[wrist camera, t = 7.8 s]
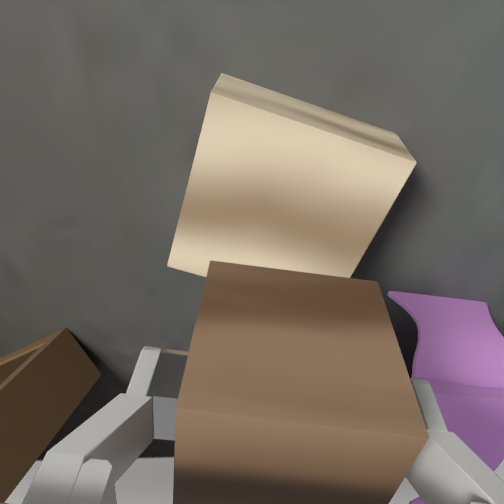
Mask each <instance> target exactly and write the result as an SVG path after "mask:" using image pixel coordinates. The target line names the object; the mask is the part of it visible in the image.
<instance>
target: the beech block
mask: <svg viewBox="0 0 504 504" xmlns="http://www.w3.org/2000/svg"><path fill="white" fill-rule="evenodd" d="M416 163H417V162H416V161H415V159H414V158H413V156H412V155H411V154H410V152H409V151H408V150H407V148H406V147H405V145H404V144H403V143H402V141H401V140H400V138H399V137H398V136H397V134H395V133H392V132H389V131H386V130H384V129H381V128H378V127H375V126H372V125H369V124H366V123H364V122H361V121H358V120H355V119H352V118H349V117H346V116H343V115H341V114H338V113H335V112H332V111H329V110H326V109H323V108H321V107H318V106H315V105H312V104H309V103H306V102H303V101H300V100H298V99H295V98H292V97H289V96H286V95H283V94H280V93H278V92H275V91H272V90H269V89H266V88H263V87H260V86H257V85H255V84H252V83H249V82H246V81H243V80H240V79H237V78H235V77H232V76H229V75H226V74H223V73H221V75H220V77H219V79H218V81H217V82H216V84H215V86H214V88H213V90H212V91H211V94H210V98H209V102H208V106H207V110H206V114H205V118H204V122H203V126H202V130H201V134H200V138H199V142H198V146H197V150H196V154H195V158H194V162H193V166H192V170H191V174H190V178H189V181H188V185H187V189H186V193H185V197H184V201H183V205H182V209H181V213H180V217H179V221H178V225H177V229H176V233H175V237H174V241H173V245H172V249H171V253H170V257H169V261H168V265H167V266H169V267H172V268H176V269H179V270H183V271H186V272H190V273H193V274H197V275H200V276H204V277H206V276H207V272H208V267H209V263H210V260H211V261H219V262H227V263H235V264H243V265H251V266H259V267H267V268H275V269H283V270H290V271H298V272H306V273H314V274H322V275H330V276H338V277H346V278H350V277H351V275H352V273H353V272H354V270H355V268H356V267H357V265H358V263H359V261H360V260H361V258H362V256H363V254H364V253H365V251H366V249H367V248H368V246H369V244H370V242H371V241H372V239H373V237H374V235H375V234H376V232H377V230H378V229H379V227H380V225H381V223H382V222H383V220H384V218H385V217H386V215H387V213H388V211H389V210H390V208H391V206H392V204H393V203H394V201H395V199H396V198H397V196H398V194H399V192H400V191H401V189H402V187H403V186H404V184H405V182H406V180H407V179H408V177H409V175H410V173H411V172H412V170H413V168H414V167H415V165H416Z"/></svg>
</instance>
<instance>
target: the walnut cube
mask: <svg viewBox="0 0 504 504" xmlns="http://www.w3.org/2000/svg"><path fill="white" fill-rule="evenodd" d="M428 439H429V435H428V432H427V429H426V426H425V423H424V420H423V417H422V414H421V411H420V408H419V405H418V402H417V399H416V396H415V393H414V390H413V387H412V384H411V381H410V378H409V375H408V371H407V368H406V365H405V362H404V359H403V356H402V353H401V350H400V347H399V344H398V341H397V338H396V335H395V332H394V329H393V326H392V323H391V320H390V317H389V314H388V311H387V308H386V305H385V302H384V299H383V295H382V292H381V289H380V286H379V283H378V282H377V281H369V280H361V279H354V278H346V277H338V276H330V275H322V274H314V273H306V272H298V271H290V270H283V269H275V268H267V267H259V266H251V265H243V264H235V263H227V262H219V261H211V260H210V263H209V267H208V272H207V276H206V280H205V285H204V289H203V293H202V298H201V302H200V306H199V310H198V315H197V319H196V323H195V328H194V332H193V336H192V340H191V345H190V349H189V353H188V358H187V362H186V366H185V371H184V375H183V379H182V383H181V388H180V392H179V396H178V401H177V405H176V418H175V454H174V490H173V492H174V493H173V504H388V503H389V502H390V500H391V498H392V497H393V495H394V494H395V492H396V491H397V489H398V487H399V486H400V484H401V482H402V481H403V479H404V478H405V476H406V474H407V473H408V471H409V470H410V468H411V466H412V465H413V463H414V461H415V460H416V458H417V457H418V455H419V453H420V452H421V450H422V449H423V447H424V445H425V444H426V442H427V441H428Z"/></svg>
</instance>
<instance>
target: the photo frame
mask: <svg viewBox="0 0 504 504" xmlns="http://www.w3.org/2000/svg"><path fill="white" fill-rule="evenodd" d="M101 375H102V374H101V373H100V372H99V370H98V369H97V368H96V366H95V365H94V364H93V362H92V361H91V360H90V358H89V357H88V356H87V354H86V353H85V352H84V350H83V349H82V348H81V346H80V345H79V344H78V342H77V341H76V340H75V338H74V337H73V336H72V334H71V333H70V332H69V330H68V329H67V328H64V329H62V330H60V331H58V332H56V333H54V334H51V335H49V336H47V337H45V338H43V339H41V340H39V341H36V342H34V343H32V344H30V345H28V346H26V347H23V348H21V349H19V350H17V351H15V352H13V353H10V354H8V355H6V356H4V357H2V358H0V503H4V502H5V500H6V499H7V498H8V497H9V495H10V494H11V493H12V491H13V490H14V489H15V488H16V486H17V485H18V484H19V482H20V481H21V480H22V478H23V477H24V476H25V474H26V473H27V472H28V470H29V469H30V468H31V467H32V465H33V464H34V463H35V461H36V460H37V459H38V457H39V456H40V455H41V453H42V452H43V451H44V449H45V448H46V447H47V446H48V444H49V443H50V442H51V440H52V439H53V438H54V436H55V435H56V434H57V432H58V431H59V430H60V428H61V427H62V426H63V425H64V423H65V422H66V421H67V419H68V418H69V417H70V415H71V414H72V413H73V411H74V410H75V409H76V407H77V406H78V405H79V404H80V402H81V401H82V400H83V398H84V397H85V396H86V394H87V393H88V392H89V390H90V389H91V388H92V386H93V385H94V384H95V383H96V381H97V380H98V379H99V377H100V376H101Z"/></svg>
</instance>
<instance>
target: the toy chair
mask: <svg viewBox="0 0 504 504" xmlns="http://www.w3.org/2000/svg"><path fill="white" fill-rule="evenodd" d="M387 296H388V297H390V298H391V299H392V300H394V301H395V302H396V303H398V304H399V305H400V306H401V307H402V308H404V309H405V310H406V311H407V312H408V313H409V314H410V315H411V317H412V318H413V320H414V321H415V323H416V325H417V329H418V342H417V347H416V351H415V354H414V359H413V366H412V377H411V378H412V379H420V380H427V381H428V382H429V383H430V385H431V388H432V391H433V393H434V396H435V398H436V401H437V404H438V406H439V409H440V411H441V414H442V417H443V419H444V422H445V424H446V427H447V430H448V432H454V433H455V434H456V435H457V436H458V437H459V438H460V439H461V440H462V441H463V442H464V443H465V444H466V445H467V446H468V447H469V448H470V449H471V450H472V451H473V452H474V453H475V454H476V455H477V456H478V457H479V458H480V459H481V460H482V461H483V462H484V463H485V464H486V465H487V466H488V467H489V468H490V469H491V470H492V471H493V472H494V470H495V469H496V468H497V467H498V466H499V464H500V463H501V462H502V460H503V458H504V337H503V336H502V335H501V333H500V332H499V331H498V329H497V328H496V326H495V324H494V323H493V321H492V318H491V316H490V313H489V310H488V306H487V303H486V302H480V301H472V300H464V299H455V298H447V297H439V296H430V295H422V294H414V293H405V292H397V291H388V294H387ZM409 504H425V503H424V502H423V500H422V499H421V497H418V498H416V499H414V500H412V501H410V502H409Z"/></svg>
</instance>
